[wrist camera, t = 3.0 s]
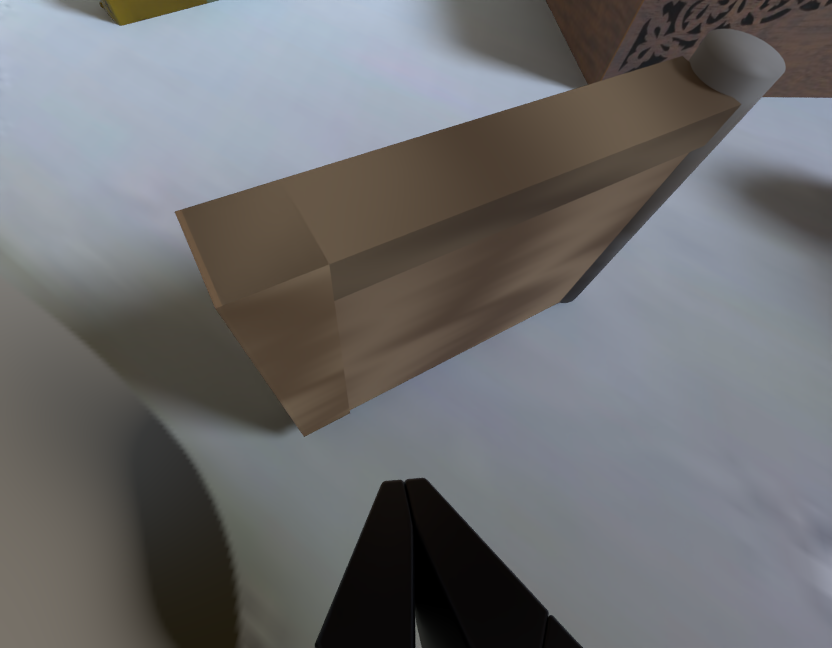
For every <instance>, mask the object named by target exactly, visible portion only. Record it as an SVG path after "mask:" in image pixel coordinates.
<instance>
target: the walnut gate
mask: <svg viewBox="0 0 832 648" xmlns="http://www.w3.org/2000/svg"><path fill="white" fill-rule="evenodd" d="M785 69H786V66H785V62H784V60H783V58H782V57H781V55H780V54H779V53H778V52H777V51H776V50H775V49H774V48H773V47H772V46H770V45H769V44H768V43H766V42H764V41H763V40H761V39H759V38H757V37H755V36H753V35H751V34H748V33H745V32H742V31H738V30H733V29H716V30H713V31H710V32H709V33H708V34H707V35H706V36H705V38H704V39H703V41H702V42H701V44H700V45H699V46H698V48H697V49H696V51H695V52H694V54H693V55H692V57H691V58H690V59H689V61H688V60H687V59H685V58H684V57H683V56H680V57H677V58H674V59H670V60H667V61H664V62H661V63H657V64H654V65H651V66H648V67H644V68H641V69H638V70H635V71H631V72H628V73H625V74H622V75H618V76H615V77H612V78H609V79H605V80H602V81H599V82H596V83H592V84H589V85H586V86H583V87H579V88H576V89H573V90H570V91H566V92H563V93H560V94H557V95H553V96H550V97H547V98H543V99H540V100H537V101H534V102H530V103H527V104H524V105H521V106H517V107H514V108H511V109H508V110H504V111H501V112H498V113H495V114H491V115H488V116H485V117H482V118H478V119H475V120H472V121H469V122H465V123H462V124H459V125H456V126H452V127H449V128H446V129H443V130H439V131H436V132H433V133H429V134H426V135H423V136H420V137H416V138H413V139H410V140H407V141H403V142H400V143H397V144H394V145H390V146H387V147H384V148H381V149H377V150H374V151H371V152H368V153H364V154H361V155H358V156H355V157H351V158H348V159H345V160H342V161H338V162H335V163H332V164H329V165H325V166H322V167H319V168H316V169H312V170H309V171H306V172H302V173H299V174H296V175H293V176H289V177H286V178H283V179H280V180H276V181H273V182H270V183H267V184H263V185H260V186H257V187H254V188H250V189H247V190H244V191H241V192H237V193H234V194H231V195H228V196H224V197H221V198H218V199H215V200H211V201H208V202H205V203H202V204H198V205H195V206H192V207H189V208H185V209H182V210H179V211H175V214H176V216H177V218H178V221H179V223H180V225H181V228H182V230H183V233H184V235H185V237H186V240H187V242H188V245H189V247H190V249H191V252H192V254H193V256H194V259H195V261H196V264H197V266H198V268H199V271H200V273H201V276H202V278H203V280H204V283H205V285H206V287H207V290H208V292H209V295H210V297H211V299H212V302H213V304H214V307H215V309H216V310H217V312H218V313H219V315H220V316H221V317H222V319H223V320H224V322H225V323H226V325H227V326H228V328H229V329H230V330H231V332H232V333H233V335H234V336H235V338H236V339H237V341H238V342H239V343H240V345H241V346H242V348H243V349H244V351H245V352H246V354H247V355H248V356H249V358H250V359H251V361H252V362H253V364H254V365H255V367H256V368H257V369H258V371H259V372H260V374H261V375H262V377H263V378H264V380H265V381H266V382H267V384H268V385H269V387H270V388H271V390H272V391H273V393H274V394H275V395H276V397H277V398H278V400H279V401H280V403H281V404H282V405H283V407H284V408H285V410H286V411H287V413H288V414H289V416H290V417H291V418H292V420H293V421H294V423H295V424H296V426H297V427H298V429H299V430H300V431H301V433H302V434H303V436H304V437H305V436H307V435H309V434H311V433H313V432H314V431H316V430H318V429H320V428H322V427H324V426H326V425H328V424H330V423H332V422H334V421H336V420H338V419H340V418H342V417H343V416H345V415H347V414H349V413H350V410H351V409H353V408H355V407H357V406H359V405H361V404H363V403H365V402H367V401H369V400H371V399H373V398H375V397H377V396H378V395H380V394H382V393H384V392H386V391H388V390H390V389H392V388H394V387H396V386H398V385H400V384H402V383H404V382H406V381H408V380H409V379H411V378H413V377H415V376H417V375H419V374H421V373H423V372H425V371H427V370H429V369H431V368H433V367H435V366H437V365H439V364H441V363H442V362H444V361H446V360H448V359H450V358H452V357H454V356H456V355H458V354H460V353H462V352H464V351H466V350H468V349H470V348H472V347H474V346H475V345H477V344H479V343H481V342H483V341H485V340H487V339H489V338H491V337H493V336H495V335H497V334H499V333H501V332H503V331H505V330H507V329H508V328H510V327H512V326H514V325H516V324H518V323H520V322H522V321H524V320H526V319H528V318H530V317H532V316H534V315H536V314H538V313H540V312H541V311H543V310H545V309H547V308H549V307H551V306H553V305H555V304H557V303H568V302H571V301H573V300H574V299H575V298H576V297H577V296H578V295H579V294H580V293H581V292H582V291H583V290H584V289H585V288H586V287H587V285H588V284H589V283H590V282H591V281H592V280H593V279H594V278H595V277H596V276H597V275H598V274H599V272H600V271H601V270H602V269H603V268H604V267H605V266H606V265H607V264H608V263H609V262H610V261H611V260H612V258H613V257H614V256H615V255H616V254H617V253H618V252H619V251H620V250H621V249H622V248H623V247H624V245H625V244H626V243H627V242H628V241H629V240H630V239H631V238H632V237H633V236H634V235H635V234H636V232H637V231H638V230H639V229H640V228H641V227H642V226H643V225H644V224H645V223H646V222H647V221H648V220H649V218H650V217H651V216H652V215H653V214H654V213H655V212H656V211H657V210H658V209H659V208H660V207H661V205H662V204H663V203H664V202H665V201H666V200H667V199H668V198H669V197H670V196H671V195H672V194H673V192H674V191H675V190H676V189H677V188H678V187H679V186H680V185H681V184H682V183H683V182H684V181H685V180H686V178H687V177H688V176H689V175H690V174H691V173H692V172H693V171H694V170H695V169H696V168H697V167H698V165H699V164H700V163H701V162H702V161H703V160H704V159H705V158H706V157H707V156H708V155H709V154H710V152H711V151H712V150H713V149H714V148H715V147H716V146H717V145H718V144H719V143H720V142H721V141H722V140H723V138H724V137H725V136H726V135H727V134H728V133H729V132H730V131H731V130H732V129H733V128H734V127H735V125H736V124H737V123H738V122H739V121H740V120H741V119H742V118H743V117H744V116H745V115H746V114H747V112H748V111H749V110H750V109H751V108H752V107H753V106H754V105H755V104H756V103H757V102H758V101H759V100H760V98H761V97H762V96H763V95H764V94H765V93H766V92H767V91H768V90H769V89H770V88H771V87H772V85H773V84H774V83H775V82H776V81H777V80H778V79H779V78H780V77H781V76H782V75H783V73H784V72H785Z"/></svg>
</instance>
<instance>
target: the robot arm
mask: <svg viewBox="0 0 832 648" xmlns="http://www.w3.org/2000/svg"><path fill="white" fill-rule="evenodd" d="M548 615H549V612H548V610H547V609H546V608H545V607H544V606H543V605H542V604H541V602H540V601H539V600H538V599H537V598H536V597H535V596H534V595H533V594H532V593H531V592H530V591H529V590H528V588H527V587H526V586H525V585H524V584H523V583H522V582H521V581H520V580H519V579H518V578H517V577H516V575H515V574H514V573H513V572H512V571H511V570H510V569H509V568H508V567H507V566H506V565H505V564H504V562H503V561H502V560H501V559H500V558H499V557H498V556H497V555H496V554H495V553H494V552H493V551H492V549H491V548H490V547H489V546H488V545H487V544H486V543H485V542H484V541H483V540H482V539H481V538H480V536H479V535H478V534H477V533H476V532H475V531H474V530H473V529H472V528H471V527H470V526H469V525H468V523H467V522H466V521H465V520H464V519H463V518H462V517H461V516H460V515H459V514H458V513H457V512H456V511H455V509H454V508H453V507H452V506H451V505H450V504H449V503H448V502H447V501H446V500H445V499H444V498H443V496H442V495H441V494H440V493H439V492H438V491H437V490H436V489H435V488H434V487H433V486H432V485H431V483H430V482H429V481H428V480H427V479H425V478H414V479H407V480H405V482H403V481H402V480H391V481H384V482H383V483H382V484H381V486H380V489H379V491H378V493H377V496H376V498H375V501H374V503H373V505H372V508H371V510H370V513H369V515H368V517H367V520H366V522H365V525H364V527H363V529H362V532H361V534H360V537H359V539H358V542H357V544H356V546H355V549H354V551H353V554H352V556H351V558H350V561H349V563H348V566H347V568H346V570H345V573H344V575H343V578H342V580H341V583H340V585H339V587H338V590H337V592H336V595H335V597H334V599H333V602H332V604H331V607H330V609H329V611H328V614H327V616H326V619H325V621H324V623H323V626H322V628H321V631H320V633H319V636H318V638H317V640H316V643H315V648H415V618H416V623H417V628H418V632H419V637H420V641H421V646H422V648H583V647H582V646H581V645H580V644H579V643H578V642H577V641H576V640H575V639H574V638H573V637H572V636H571V635H570V634H569V633H568V631H567V630H566V629H565V628H564V627H563V626H562V625H561V624H560V623H559V622H558V621H557V620H556V618H555V617H554V616H552V615H550V616H549V617H548Z"/></svg>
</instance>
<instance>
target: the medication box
mask: <svg viewBox="0 0 832 648" xmlns="http://www.w3.org/2000/svg"><path fill="white" fill-rule="evenodd" d="M100 1H101V2H100V6H101V7H102V8H104V9H105V11H106V12H107V14H108V15H109V16H110V17H111V18H112V19H113V20H114V21H115V22H116V23H117V24H118V25H120V26H122V25H126V24H130V23H134V22H138V21H142V20H146V19H149V18H153V17H157V16H161V15H165V14H169V13H172V12H176V11H180V10H184V9H188V8H191V7H195V6H199V5H203V4H207V3H210V2H214V1H218V0H100Z"/></svg>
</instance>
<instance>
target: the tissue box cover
mask: <svg viewBox="0 0 832 648" xmlns="http://www.w3.org/2000/svg"><path fill="white" fill-rule="evenodd" d="M546 2H547V4H548V6H549V8H550V10H551V12H552V14H553V16H554V18H555V20H556V22H557V24H558V26H559V28H560V30H561V32H562V34H563V36H564V38H565V40H566V42H567V44H568V46H569V48H570V50H571V52H572V54H573V56H574V58H575V59H576V61H577V63H578V65H579V67H580V69H581V71H582V73H583V75H584V77H585V79H586V81H587V83H588V85H589V84H592V83H596V82H599V81H602V80H605V79H609V78H612V77H615V76H618V75H622V74H625V73H628V72H631V71H635V70H638V69H641V68H644V67H648V66H651V65H654V64H657V63H661V62H664V61H667V60H670V59H674V58H677V57H680V56H683V57H684V58H685V59H687V60H688V61H689V59H690V58H691V57H692V55H693V54H694V52H695V51H696V49H697V48H698V46H699V45H700V44H701V42H702V41H703V39H704V38H705V36H706V35H707V34H708V33H709V32H710V31H713V30H716V29H733V30H738V31H742V32H745V33H748V34H751V35H753V36H755V37H757V38H759V39H761V40H763V41H764V42H766V43H768V44H769V45H770V46H772V47H773V48H774V49H775V50H776V51H777V52H778V53H779V54H780V55H781V57H782V58H783V60H784V62H785V66H786V69H785V72H784V73H783V75H782V76H781V77H780V78H779V79H778V80H777V81H776V82H775V83H774V84H773V85H772V87H771V88H770V89H769V90H768V91H767V92H766V93H765V94H764V95H763V96H762V97H814V98H832V0H546Z"/></svg>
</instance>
